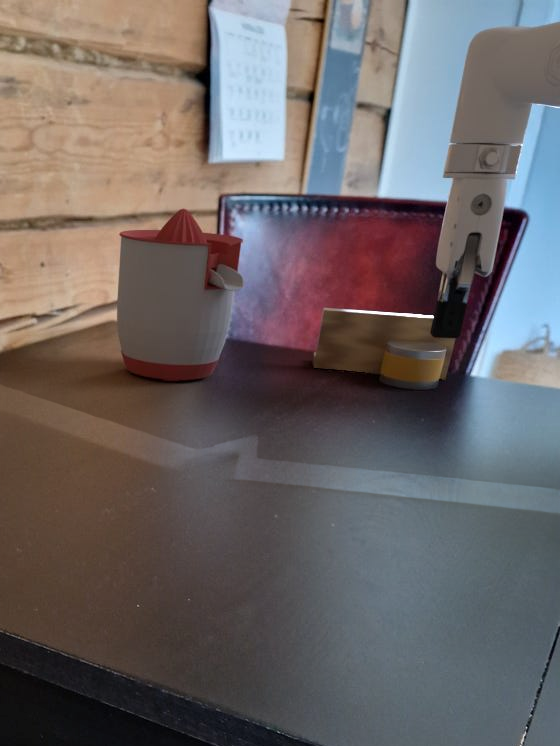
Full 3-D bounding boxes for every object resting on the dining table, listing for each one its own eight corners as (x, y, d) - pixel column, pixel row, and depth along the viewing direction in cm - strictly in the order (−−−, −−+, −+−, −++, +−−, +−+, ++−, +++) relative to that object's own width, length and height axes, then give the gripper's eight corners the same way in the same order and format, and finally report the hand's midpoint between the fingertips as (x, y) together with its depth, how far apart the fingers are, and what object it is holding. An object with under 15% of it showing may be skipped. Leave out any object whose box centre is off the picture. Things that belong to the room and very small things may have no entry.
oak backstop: (438, 371, 125) (452, 313, 120) (444, 380, 119) (460, 320, 115) (312, 360, 127) (322, 303, 123) (313, 369, 122) (324, 309, 118)
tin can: (435, 379, 119) (444, 342, 117) (439, 392, 113) (449, 353, 110) (378, 374, 121) (385, 337, 118) (379, 386, 115) (387, 347, 112)
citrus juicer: (183, 396, 106) (202, 216, 95) (87, 368, 116) (94, 203, 106) (260, 379, 115) (284, 214, 105) (164, 355, 126) (177, 203, 116)
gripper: (534, 164, 88) (490, 349, 97) (502, 165, 101) (465, 328, 110) (457, 163, 89) (420, 346, 98) (435, 164, 102) (404, 325, 111)
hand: (444, 336), depth 104 cm, fingers closed
